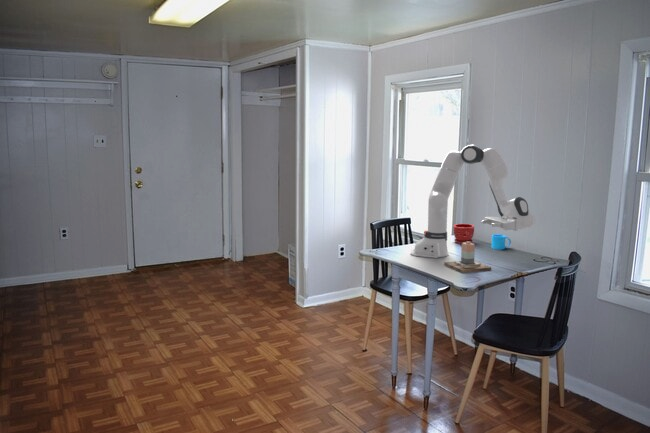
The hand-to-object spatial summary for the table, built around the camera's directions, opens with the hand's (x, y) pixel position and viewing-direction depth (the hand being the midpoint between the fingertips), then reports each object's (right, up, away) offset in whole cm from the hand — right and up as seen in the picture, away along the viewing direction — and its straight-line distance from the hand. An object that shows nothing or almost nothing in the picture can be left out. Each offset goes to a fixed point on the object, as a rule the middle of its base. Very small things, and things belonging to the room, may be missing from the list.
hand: (487, 223), depth 285 cm
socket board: (-11, -24, 0) cm, 27 cm away
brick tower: (-11, -23, 0) cm, 25 cm away
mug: (+23, -17, +45) cm, 53 cm away
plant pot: (+3, -14, +61) cm, 62 cm away
